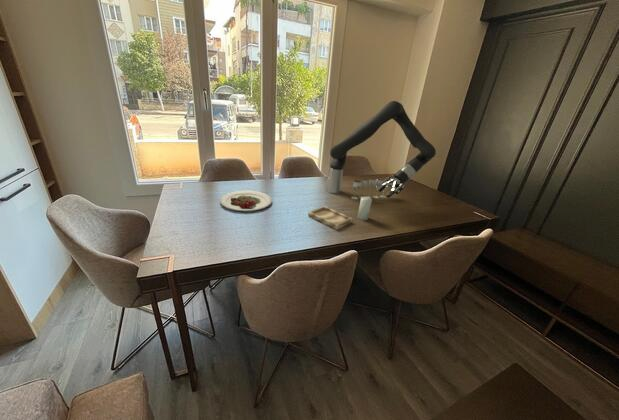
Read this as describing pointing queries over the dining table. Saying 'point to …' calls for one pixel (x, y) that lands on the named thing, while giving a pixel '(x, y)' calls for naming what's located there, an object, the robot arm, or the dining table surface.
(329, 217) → the tray
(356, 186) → the goblet set
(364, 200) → the sage domed cylinder
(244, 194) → the plated food
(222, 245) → the dining table surface
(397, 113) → the robot arm
